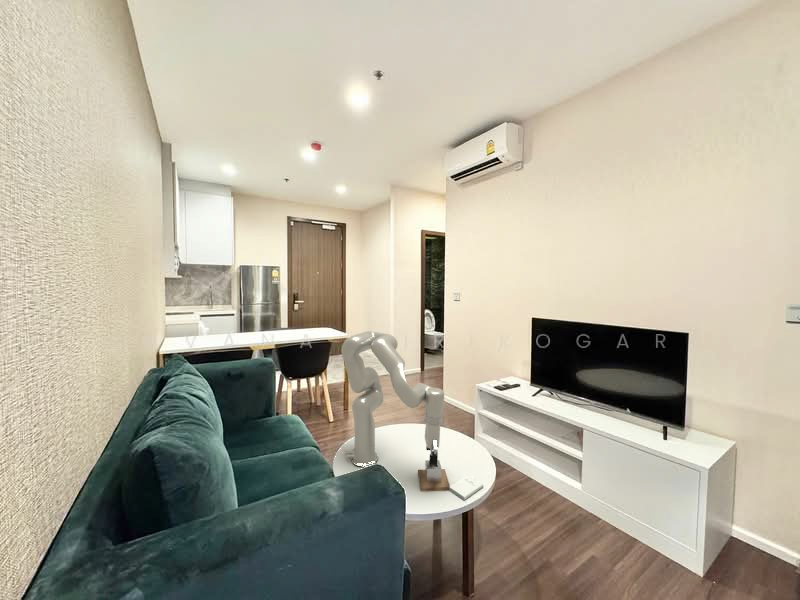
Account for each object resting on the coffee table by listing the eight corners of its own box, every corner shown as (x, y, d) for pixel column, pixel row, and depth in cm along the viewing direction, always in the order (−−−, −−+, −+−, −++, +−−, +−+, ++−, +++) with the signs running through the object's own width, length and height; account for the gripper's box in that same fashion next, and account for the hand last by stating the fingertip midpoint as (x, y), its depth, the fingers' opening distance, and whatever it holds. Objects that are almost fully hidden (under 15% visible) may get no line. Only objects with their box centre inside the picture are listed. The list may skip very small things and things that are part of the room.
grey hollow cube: (427, 482, 135) (427, 468, 135) (425, 473, 141) (425, 460, 140) (441, 482, 135) (441, 468, 135) (438, 473, 141) (439, 460, 141)
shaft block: (420, 491, 132) (421, 476, 131) (417, 472, 144) (417, 458, 143) (450, 490, 133) (450, 475, 132) (444, 472, 145) (444, 458, 144)
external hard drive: (448, 490, 133) (467, 477, 141) (464, 501, 127) (483, 487, 135) (448, 486, 133) (467, 474, 141) (464, 497, 126) (483, 483, 134)
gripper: (422, 408, 144) (420, 444, 146) (427, 428, 127) (425, 469, 129) (439, 408, 145) (437, 445, 146) (446, 428, 127) (444, 469, 129)
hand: (431, 456), depth 138 cm, fingers open, 9 cm apart
